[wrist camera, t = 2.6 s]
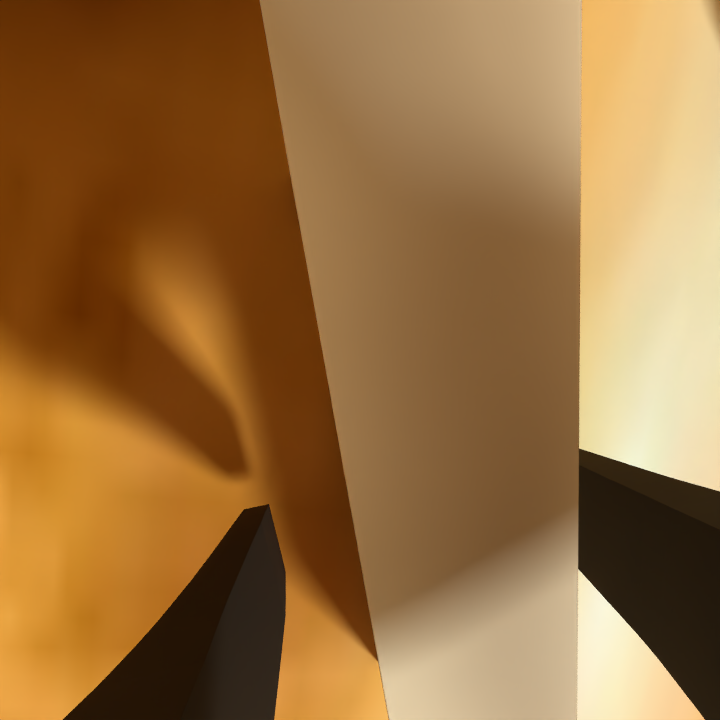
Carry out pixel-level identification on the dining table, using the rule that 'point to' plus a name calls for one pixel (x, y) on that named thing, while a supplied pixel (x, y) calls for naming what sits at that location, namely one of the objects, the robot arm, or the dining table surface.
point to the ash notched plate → (448, 328)
